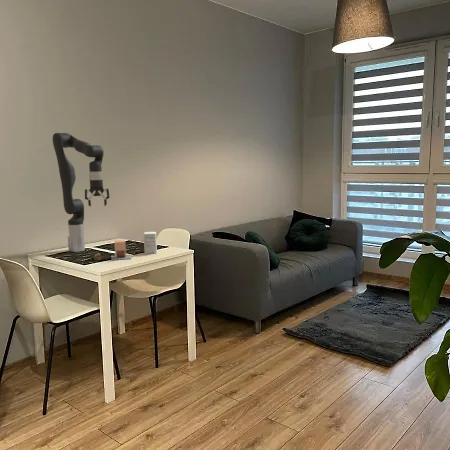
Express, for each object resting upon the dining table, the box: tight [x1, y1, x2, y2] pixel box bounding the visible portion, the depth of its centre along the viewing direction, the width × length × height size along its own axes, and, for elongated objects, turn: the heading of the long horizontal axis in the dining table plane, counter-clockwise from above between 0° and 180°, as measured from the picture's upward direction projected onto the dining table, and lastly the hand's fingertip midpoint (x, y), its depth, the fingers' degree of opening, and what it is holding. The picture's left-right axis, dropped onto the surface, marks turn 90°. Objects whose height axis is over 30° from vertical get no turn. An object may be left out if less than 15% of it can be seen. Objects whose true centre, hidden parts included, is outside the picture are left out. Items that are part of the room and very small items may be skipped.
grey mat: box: [110, 254, 132, 262], centre depth 270 cm, size 11×11×1 cm
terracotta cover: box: [114, 239, 127, 258], centre depth 269 cm, size 6×6×10 cm
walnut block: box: [94, 253, 102, 261], centre depth 266 cm, size 3×3×3 cm
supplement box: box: [143, 231, 158, 255], centre depth 283 cm, size 7×7×13 cm
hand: (97, 206), depth 275 cm, fingers open, 8 cm apart
